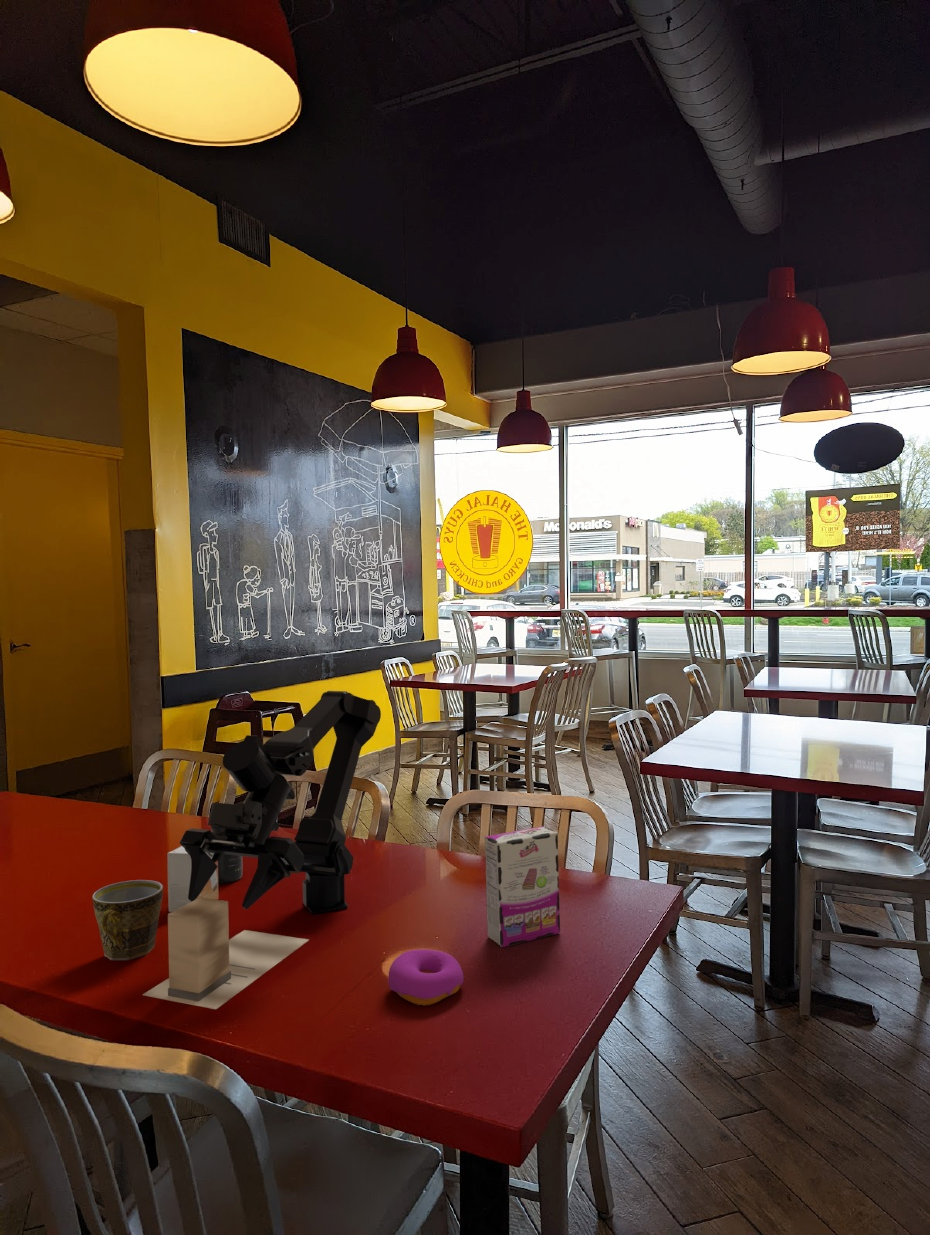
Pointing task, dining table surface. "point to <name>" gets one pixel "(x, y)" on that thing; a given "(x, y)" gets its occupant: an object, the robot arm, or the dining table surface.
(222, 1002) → the white lined paper sheet
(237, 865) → the supplement bottle
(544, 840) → the candy bar box
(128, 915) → the ceramic cup
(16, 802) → the dining table surface
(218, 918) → the block
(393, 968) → the donut
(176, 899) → the small box
